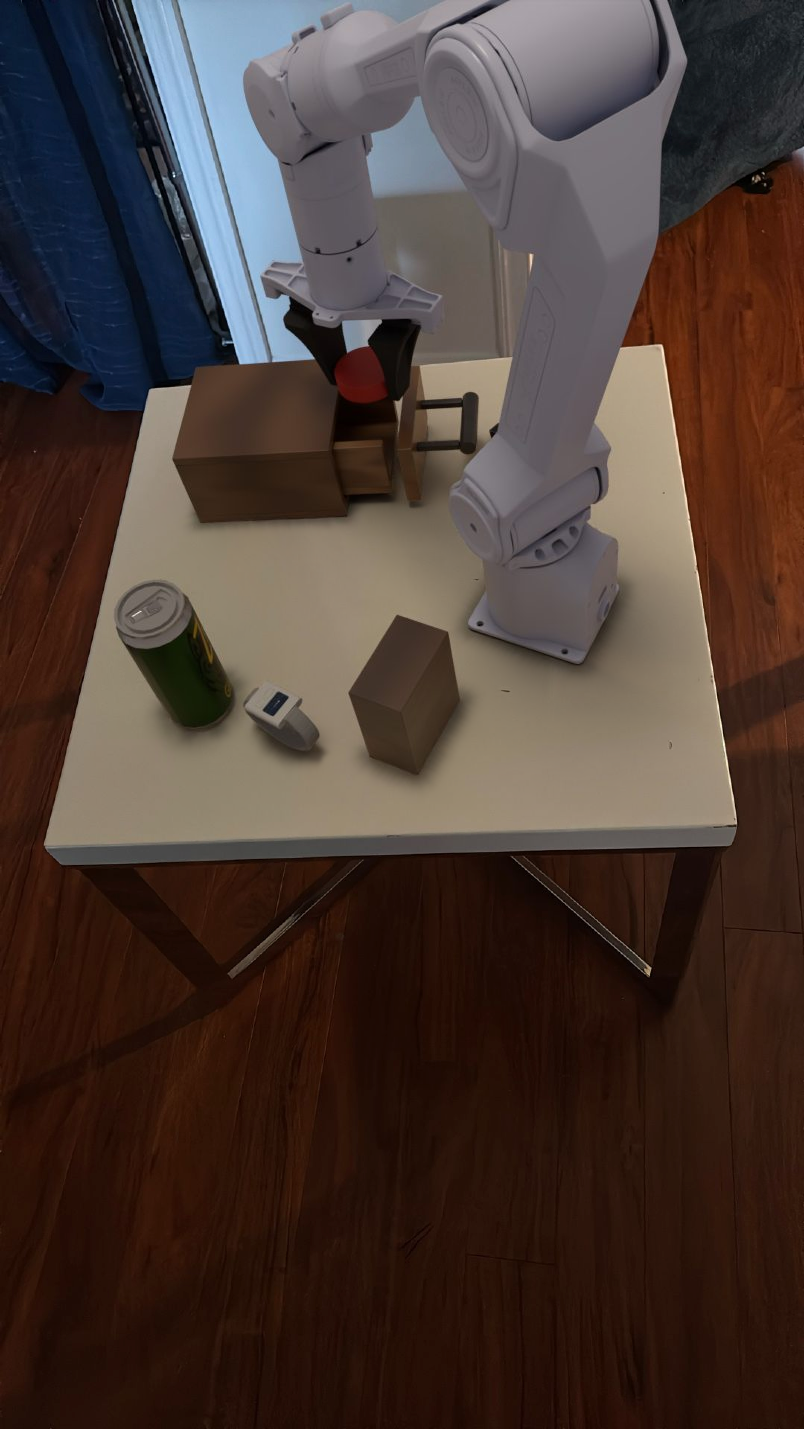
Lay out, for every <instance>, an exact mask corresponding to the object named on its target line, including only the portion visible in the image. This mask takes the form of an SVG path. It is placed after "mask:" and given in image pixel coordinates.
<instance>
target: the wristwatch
mask: <svg viewBox="0 0 804 1429" xmlns="http://www.w3.org/2000/svg"><path fill="white" fill-rule="evenodd" d="M242 703H243V704H242V706H243V709H244V711H245V713H246V714H247V716H248V717H249V718H250V719H251V720H252V721H253V722H254V723H255V724H256V725H257V726H258V727H259V728H261V729H262V730H264V731H265V732H266V733H267V734H269V735H270V736H272V737H273V738H274V739H275V740H277V741H279V742H281V743H282V744H284V745H286V746H288V747H290V748H292V749H295V750H297V751H303V752H308V751H310V750H311V749H312V747H313V746H314V745H315V743H317V741H318V740H319V739H320V732H319V729H318V728H317V726H316V724H314V722H313V721H312V720H311V718H309V716H308V715H307V714H306V713H305V712H303V711H302V710H301V709H300V706H301V705H302V704H303V698H302V697H300V696H298V695H296V694H294V693H292V692H290V691H289V690H287V689H285V688H283V687H281V686H280V685H277V684H276V683H274V682H272V681H270V680H265V681H264V682H263V683H262V684H261V686H260V687H256V688H253V690H252V691H251V692H250V693H249V695H248V696H247V697H246V698H245V699H244V701H243V702H242ZM287 723H288V724H289V725H290V726H291V727H292V728H291V727H290V726H288V725H287Z"/></svg>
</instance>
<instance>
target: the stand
mask: <svg viewBox="0 0 804 1429" xmlns="http://www.w3.org/2000/svg"><path fill="white" fill-rule="evenodd" d="M393 618H394V619H393V620H392V622H391V623H390V625H389V626H388V628H387V630H386V631H385V633H384V634H383V636H382V637H381V639H380V641H379V642H378V644H377V646H376V647H375V649H374V651H373V652H372V654H371V655H370V657H369V659H368V660H367V662H366V663H365V665H364V667H363V668H362V669H361V671H360V673H359V675H358V677H357V678H356V679H355V681H354V683H353V685H352V686H351V687H350V689H349V691H348V697H349V699H350V702H351V705H352V708H353V711H354V714H355V717H356V720H357V723H358V726H359V730H360V733H361V735H362V738H363V742H364V744H365V747H366V750H367V753H368V756H369V757H370V758H371V757H372V758H373V759H376V760H378V761H380V762H382V763H383V762H384V763H386V764H389V765H391V766H394V767H396V768H399V769H400V770H401V769H402V770H403V771H406V772H409V773H411V774H414V775H419V774H420V772H421V769H422V768H423V766H424V764H425V762H426V761H427V759H428V758H429V755H430V753H431V752H432V750H433V748H434V747H435V745H436V743H437V741H438V739H439V737H440V736H441V735H442V732H443V730H444V729H445V727H446V725H447V724H448V721H449V720H450V718H451V716H452V715H453V712H454V711H455V709H456V707H457V706H458V704H459V702H460V698H461V697H460V693H459V687H458V681H457V680H458V679H457V675H456V674H457V673H456V668H455V662H454V658H453V652H452V645H451V639H450V635H449V631H447V630H444V629H441V628H439V627H435V626H433V625H429V624H428V623H427V624H426V623H424V622H421V621H418V620H414V619H412V618H409V617H405V616H404V615H403V616H402V615H400V614H396V615H395V617H393Z"/></svg>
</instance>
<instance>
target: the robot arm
mask: <svg viewBox="0 0 804 1429" xmlns="http://www.w3.org/2000/svg"><path fill="white" fill-rule="evenodd" d="M319 19H320V23H321V26H322V28H320V29H318V27H317V26H316V25H315V24H314V23H310V24H308V25H306V26H303V27H302V28H300V29H298V30H295V31H294V32H293V33H292V34H291V41H292V42H291V43H289V44H287V45H286V46H284V47H282V48H280V49H278V50H275V51H273V52H271V53H269V54H267V55H265V56H263V57H261V58H254V59H251V60H250V61H249V62H248V65H247V67H246V68H245V69H244V72H243V75H242V85H243V86H242V87H243V93H244V97H245V101H246V105H247V109H248V112H249V114H250V116H251V120H252V121H253V124H254V126H255V129H256V130H257V132H258V134H259V136H260V138H261V139H262V141H263V143H264V145H265V146H266V148H267V149H268V150H269V151H270V152H271V154H272V155H273V157H274V158H276V160H277V162H278V166H279V171H280V175H281V179H282V183H283V188H284V191H285V195H286V199H287V200H286V201H287V204H288V207H289V208H288V209H289V211H290V216H291V220H292V223H293V224H292V225H293V228H294V233H295V236H296V239H297V244H298V248H299V252H300V256H301V261H282V260H281V261H280V260H272V261H271V262H270V263H269V264H268V266H267V267H266V268H265V269H264V270H263V272H262V273H261V274H260V275H259V277H260V280H261V284H262V288H263V291H264V294H265V297H266V298H269V299H272V300H278V299H279V298H280V297H281V296H282V295H283V296H287V297H288V299H289V304H288V307H289V308H288V310H287V311H286V313H284V315H283V318H282V321H283V325H284V328H285V329H286V330H287V331H289V332H290V333H291V334H292V335H293V336H294V337H295V338H297V339H298V340H299V341H300V342H301V343H302V344H303V346H304V347H305V348H306V349H307V350H308V351H309V353H310V354H311V356H312V357H313V359H315V360H316V361H317V363H318V364H319V366H320V368H321V369H322V371H323V373H324V374H325V376H326V378H327V379H328V381H329V383H330V384H331V385H334V386H337V382H336V378H335V373H334V371H335V366H336V364H337V362H338V361H339V360H340V358H341V357H342V356H344V355H345V354H346V353H348V348H347V345H346V340H345V334H344V328H343V327H344V326H343V322H346V321H348V322H349V321H374V320H379V321H381V323H380V324H378V325H377V326H376V328H375V330H373V332H372V333H371V335H370V336H369V337H368V339H367V346H370V347H371V349H372V350H373V352H374V353H375V355H376V357H377V359H378V361H379V363H380V365H381V368H382V371H383V374H384V379H385V384H386V388H387V392H388V395H389V397H390V399H391V400H394V401H395V402H399V401H400V400H402V398H403V395H404V393H405V392H406V391H407V389H408V388H409V386H410V372H411V366H412V363H413V358H414V353H415V349H416V345H417V343H418V342H417V341H418V338H419V336H420V333H421V332H422V333H425V334H428V335H429V334H430V335H435V333H436V332H437V330H438V329H439V328H440V327H441V325H442V324H443V322H444V321H445V319H446V311H445V302H444V295H442V294H438V293H436V292H435V293H434V292H432V291H429V290H426V289H424V288H422V287H420V286H419V285H417V284H415V283H413V282H411V281H410V280H408V279H406V278H405V277H403V276H401V275H399V274H398V273H396V272H394V271H392V270H390V269H388V268H387V267H386V264H385V258H384V252H383V246H382V240H381V235H380V229H379V223H378V217H377V212H376V211H377V210H376V206H375V200H374V194H373V188H372V182H371V177H370V171H369V164H368V159H367V157H368V156H369V155H370V153H371V152H372V148H373V147H374V145H373V139H372V134H374V133H378V132H382V131H385V130H388V129H391V128H393V127H395V126H396V125H397V124H399V123H400V122H401V121H402V120H403V119H404V118H405V116H406V115H407V114H408V113H409V112H410V109H411V108H412V107H413V104H414V102H415V98H418V97H420V100H421V104H422V107H423V111H424V114H425V117H426V120H427V124H428V126H429V129H430V131H431V132H432V134H434V136H435V138H436V141H437V143H438V145H439V147H440V148H441V150H442V152H443V153H444V155H445V156H446V158H447V159H448V161H449V162H450V163H451V165H452V166H453V168H454V170H455V172H456V173H457V175H458V176H459V178H460V180H461V181H462V183H463V185H464V186H465V188H466V190H467V191H468V194H469V195H470V197H471V198H472V200H473V202H474V203H475V206H477V209H478V210H479V212H480V213H481V215H482V217H483V218H484V220H485V221H486V223H487V224H488V226H490V228H491V229H492V231H493V233H494V235H495V237H496V238H497V240H498V241H499V243H500V244H501V246H502V248H503V249H504V250H505V251H510V252H515V253H523V254H528V255H533V257H532V262H531V266H530V271H529V275H528V280H527V285H526V291H525V294H524V300H523V305H522V309H521V314H520V318H519V324H518V329H517V334H516V339H515V342H514V343H515V344H514V348H513V352H512V358H511V363H510V368H509V373H508V377H507V382H506V383H507V384H506V387H505V392H504V398H503V401H502V407H501V411H500V415H499V416H500V417H499V420H498V423H499V426H498V430H497V433H496V434H495V435H494V436H493V437H492V438H491V437H490V440H488V441H487V443H486V444H485V445H483V447H482V448H481V449H480V450H479V451H478V452H477V453H476V454H475V455H474V457H472V459H471V460H470V461H469V462H468V463H467V464H466V465H465V467H464V468H463V470H462V476H461V479H460V480H458V481H456V482H454V483H452V485H451V486H450V489H449V492H448V493H449V494H448V497H449V498H448V510H449V514H450V517H451V521H452V522H453V525H454V528H455V529H456V531H457V533H458V534H459V536H460V538H461V539H462V542H464V543H465V545H466V546H467V547H468V549H469V550H470V551H471V552H472V553H473V554H474V555H475V556H476V557H478V558H479V559H480V560H482V565H483V573H484V582H485V591H484V593H483V594H482V596H481V598H480V599H479V601H478V603H477V605H476V606H475V608H474V610H473V612H472V614H471V615H470V617H469V618H468V620H467V621H468V622H467V626H468V629H471V630H472V631H476V632H478V633H482V634H485V635H487V636H491V637H494V638H497V639H500V640H503V641H505V642H509V643H511V644H515V645H517V646H521V647H524V648H527V649H529V650H533V651H536V652H538V653H539V652H540V653H542V654H545V655H549V656H551V657H554V658H558V659H560V660H563V661H566V662H569V663H573V664H577V665H579V664H581V663H584V661H585V658H586V657H587V655H588V653H589V651H590V649H591V647H592V646H593V643H594V641H595V639H596V638H597V635H598V634H599V631H600V629H601V627H602V625H603V624H604V622H605V620H606V619H607V617H608V614H609V612H610V609H612V608H611V607H612V605H613V604H614V602H615V600H616V598H617V596H618V594H619V592H620V584H619V583H618V582H617V581H618V563H619V562H618V561H619V541H618V539H617V538H616V537H614V536H612V535H610V534H607V533H605V532H603V531H601V530H599V529H598V528H596V527H594V526H593V525H592V524H590V523H589V521H590V520H591V518H592V506H591V505H596V504H599V502H601V501H603V500H604V499H605V497H606V496H607V494H608V492H609V486H610V484H609V483H610V482H609V481H610V478H609V476H610V475H609V468H608V461H609V456H610V454H611V452H612V446H611V444H610V443H609V441H608V440H607V438H606V436H605V435H604V433H603V431H602V430H601V429H600V427H599V426H598V424H596V423H595V420H596V418H597V415H598V412H599V410H600V407H601V405H602V401H603V399H604V395H605V393H606V390H607V387H608V384H609V381H610V379H611V376H612V373H613V370H614V367H615V365H616V362H617V359H618V356H619V354H620V351H621V347H622V344H623V342H624V340H625V336H626V334H627V331H628V329H629V325H630V322H631V319H632V316H633V313H634V311H635V308H636V305H637V302H638V299H639V297H640V293H641V291H642V288H643V285H644V282H645V280H646V277H647V274H648V272H649V268H650V266H651V263H652V260H653V257H654V255H655V251H656V247H657V243H658V238H659V230H660V206H661V205H660V204H661V176H662V174H661V173H662V145H663V140H664V137H665V133H666V131H667V127H668V124H669V122H670V118H671V115H672V112H673V109H674V106H675V103H676V100H677V96H678V93H679V90H680V87H681V84H682V81H683V77H684V75H685V71H686V70H687V66H688V65H687V64H688V57H687V55H686V52H685V49H684V46H683V43H682V40H681V37H680V34H679V31H678V28H677V25H676V21H675V19H674V16H673V13H672V10H671V7H670V4H669V1H668V0H443V1H442V2H439V3H437V4H435V5H433V6H431V7H429V8H427V9H425V10H423V11H421V12H420V13H419V12H418V13H417V14H416V15H414V16H412V17H409V18H407V19H405V20H403V21H401V22H399V23H398V22H397V21H396V20H394V19H393V18H392V17H391V16H389V15H387V14H385V13H383V12H381V11H376V10H369V9H366V10H365V9H364V10H358V11H355V9H354V6H353V4H352V2H351V1H347V2H345V3H343V4H341V5H339V6H337V7H335V8H332V9H330V10H329V11H327V12H325V13H322V14H321V15H320V17H319ZM479 625H480V626H479Z"/></svg>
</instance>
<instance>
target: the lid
mask: <svg viewBox="0 0 804 1429" xmlns="http://www.w3.org/2000/svg"><path fill="white" fill-rule="evenodd" d="M334 373H335V378H336V382H337V386H338V390H339V392H340V394H341V395H342V396H343V397H344V398H346V399H347V400H350V401H352V402H357V403H369V402H374V401H377V400H380V399H382V398H384V397H386V396H388V392H387V388H386V384H385V379H384V374H383V371H382V368H381V365H380V363H379V361H378V359H377V357H376V355H375V353H374V352H373V350H372V349H371V347H370V346H369V345H365V346H361V347H357V348H354V349H352V350H350V351H347V353H346V354H345V355H344V356H342V357H341V358H340V360H339V361H338V362H337V364H336V366H335V371H334Z"/></svg>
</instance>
